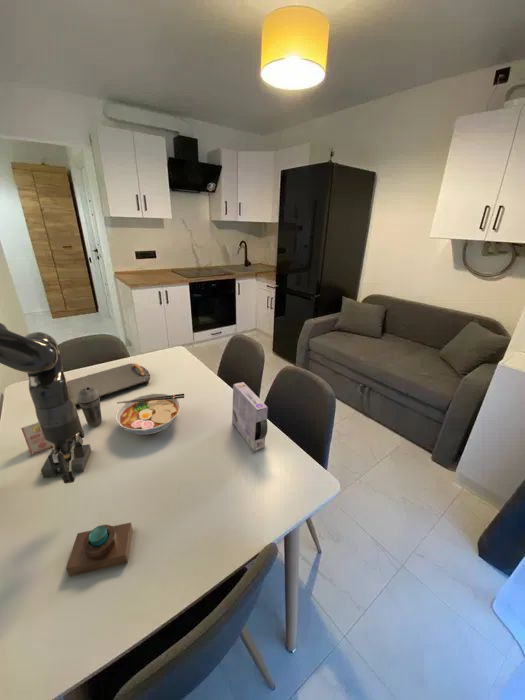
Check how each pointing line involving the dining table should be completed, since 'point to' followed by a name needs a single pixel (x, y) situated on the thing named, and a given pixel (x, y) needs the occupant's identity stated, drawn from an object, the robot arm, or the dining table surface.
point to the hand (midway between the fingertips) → (75, 468)
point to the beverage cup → (90, 405)
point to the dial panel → (76, 463)
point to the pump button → (98, 536)
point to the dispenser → (100, 550)
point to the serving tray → (110, 380)
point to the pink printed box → (35, 438)
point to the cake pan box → (249, 416)
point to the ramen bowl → (148, 413)
